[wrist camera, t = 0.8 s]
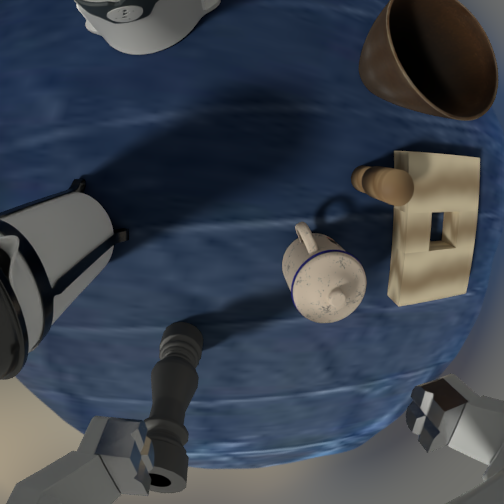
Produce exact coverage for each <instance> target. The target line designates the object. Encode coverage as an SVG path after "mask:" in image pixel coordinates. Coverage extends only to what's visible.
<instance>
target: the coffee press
mask: <svg viewBox="0 0 504 504" xmlns="http://www.w3.org/2000/svg"><path fill="white" fill-rule="evenodd" d="M84 189H85V180H84V179H74V181H73V183H72V185H71V186H70V188H69V189H68V190H66V191H63V192H60V193H57V194H53V195H50V196H47V197H44V198H41V199H38V200H35V201H32V202H29V203H26V204H23V205H20V206H18V207H15V208H12V209H9V210H6V211H4V212H1V213H0V380H1V379H10V378H13V377H14V376H16V375H17V374H18V373H19V372H20V371H21V369H22V368H23V367H24V365H25V363H26V360H27V357H28V353H29V352H31V351H33V350H34V349H35V348H36V347H37V346H38V345H39V343H40V342H41V341H42V340H43V339H44V337H45V336H46V335H47V333H48V332H49V330H50V328H51V325H52V324H53V323H54V322H55V321H56V320H57V318H58V317H59V316H60V315H61V314H62V313H63V312H64V311H65V309H66V308H67V307H68V306H69V305H70V304H71V303H72V302H73V301H74V300H75V298H76V297H77V296H78V295H79V294H80V293H81V292H82V291H83V290H84V289H85V288H86V287H87V286H88V284H89V283H90V282H91V281H92V280H93V279H94V278H95V277H96V276H97V275H98V274H99V273H100V272H101V271H102V270H103V268H104V267H105V266H106V265H107V263H108V262H109V260H110V258H111V255H112V252H113V247H114V245H115V244H116V243H119V242H123V241H127V240H129V229H125V228H123V229H116V230H113V227H112V224H111V221H110V218H109V216H108V214H107V213H106V211H105V210H104V208H103V207H102V206H101V205H100V204H99V203H98V202H97V201H96V200H95V199H93V198H92V197H90V196H88V195H86V194H83V192H84ZM74 191H75V192H74ZM39 339H40V340H39Z"/></svg>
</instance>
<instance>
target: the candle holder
mask: <svg viewBox="0 0 504 504" xmlns="http://www.w3.org/2000/svg"><path fill="white" fill-rule="evenodd" d="M202 346H203V337H202V334H201V332H200V331H199V330H198V329H197V328H196V327H195V326H193V325H191V324H189V323H185V322H177V323H173V324H171V325H170V326H168V327H167V328H166V330H165V331H164V333H163V337H162V340H161V343H160V355H159V358H160V361H159V362H157V363H156V365H155V366H154V368H153V369H152V372H151V384H152V400H153V404H152V408H151V412H150V416H149V418H147V419H145V420H144V421H145V424H146V427H147V429H148V430H147V434H146V436H147V437H148V438H149V439H151V441H152V444H153V448H154V466H153V469H152V470H151V471H149V472H148V473H149V475H150V478H151V484H150V489H149V490H151V491H155V492H160V493H175V492H180V491H182V490H183V489H185V488H186V481H187V468H188V456H187V454H186V450H185V449H184V447H183V446H184V445H185V444H186V443H187V442H188V435H189V434H188V431H187V429H186V427H185V426H184V425H183V424H184V417H185V412H186V409H187V407H188V405H189V403H190V401H191V399H192V397H193V395H194V393H195V391H196V389H197V386H198V374H197V372H196V369H195V368H196V367H197V365H198V364H199V360H200V359H201V354H202Z"/></svg>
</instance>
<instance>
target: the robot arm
mask: <svg viewBox="0 0 504 504" xmlns="http://www.w3.org/2000/svg"><path fill="white" fill-rule="evenodd" d="M74 1H75V2H76V5H77V9H78V10H79V11H80V12H81V14H82V15H83V16H84V17H85V18H86V28H87V29H88V30H89V31H90V32H92V33H95V34H98V35H101V36H102V37H103V38H104V39H105V40H106V41H107V42H108V43H109V44H110V45H111V46H112V47H113V48H115V49H117V50H118V51H121V52H124V53H128V54H137V55H139V54H149V53H154V52H158V51H161V50H163V49H166V48H168V47H170V46H172V45H174V44H175V43H177V42H179V41H180V40H181V39H183V38H184V37H185V36H186V35H187V34H188V33H189V32H190V31H191V30H192V29H193V28H194V27H195V25H196V24H197V23H198V21H199V20H200V19H201V18H202V17H203V16H204V15H205V14H207V13H209V12H210V11H212V10H213V9H215V8H216V7H217V6H218V5H219V4H220V2H221V0H74ZM411 398H412V399H413V401H412V402H411V404H410V405H409V406H408V408H407V412H406V422H407V425H408V427H409V429H410V430H411V431H412V432H413V433H415V434H418V435H419V439H418V441H419V442H420V444H421V445H422V446H423V448H424V449H425V450H426V452H427V453H429V452H432V451H434V450H437V449H439V448H441V447H444V446H446V445H448V446H449V447H451V448H453V449H455V450H457V451H459V452H462V453H463V454H465V455H467V456H470V457H472V458H474V459H476V460H479V461H481V462H482V463H485V464H487V465H489V467H488V468H487V470H486V471H485V473H484V474H483V480H484V482H483V483H481V484H479V485H478V486H476V487H474V488H473V489H471V490H470V491H468V492H466V493H464V494H462V495H461V496H459V497H457V498H455V499H453V500H452V501H450V502H448V503H446V504H504V401H503V400H498V399H494V398H490V397H487V396H481V397H480V396H479V395H477V394H476V393H475V392H474V391H473V390H472V389H471V388H469V387H468V386H467V385H466V384H465V383H463V382H462V381H461V380H460V379H459V378H458V377H457V376H456V375H453V374H449V375H447V376H444V377H441V378H439V379H436V380H433V381H430V382H427V383H424V384H421V385H418V386H415V388H414V389H413V390H412V394H411ZM147 430H148V429H147V427H146V424H145V421H143V420H136V419H124V418H114V417H111V418H110V417H102V416H95V417H93V418H92V420H91V422H90V424H89V426H88V428H87V430H86V432H85V435H84V437H83V439H82V441H81V443H80V446H79V448H78V450H77V451H71V452H70V453H68V454H67V455H65V456H63V457H62V458H60V459H58V460H57V461H55V462H53V463H52V464H50V465H48V466H47V467H45V468H43V469H42V470H40V471H38V472H36V473H34V474H33V475H31V476H29V477H27V478H26V479H24V480H22V481H20V482H19V483H17V484H16V486H15V488H14V490H13V491H12V493H11V495H10V497H9V499H8V501H7V503H6V504H112V503H113V502H114V501H115V500H116V499H117V498H118V497H119V496H120V495H121V494H130V495H143V496H148V495H149V489H150V484H151V478H150V475H149V473H148V472H149V471H151V470H152V469H153V466H154V448H153V444H152V441H151V439H149V438H148V437H147V436H146V434H147ZM120 493H121V494H120Z"/></svg>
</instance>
